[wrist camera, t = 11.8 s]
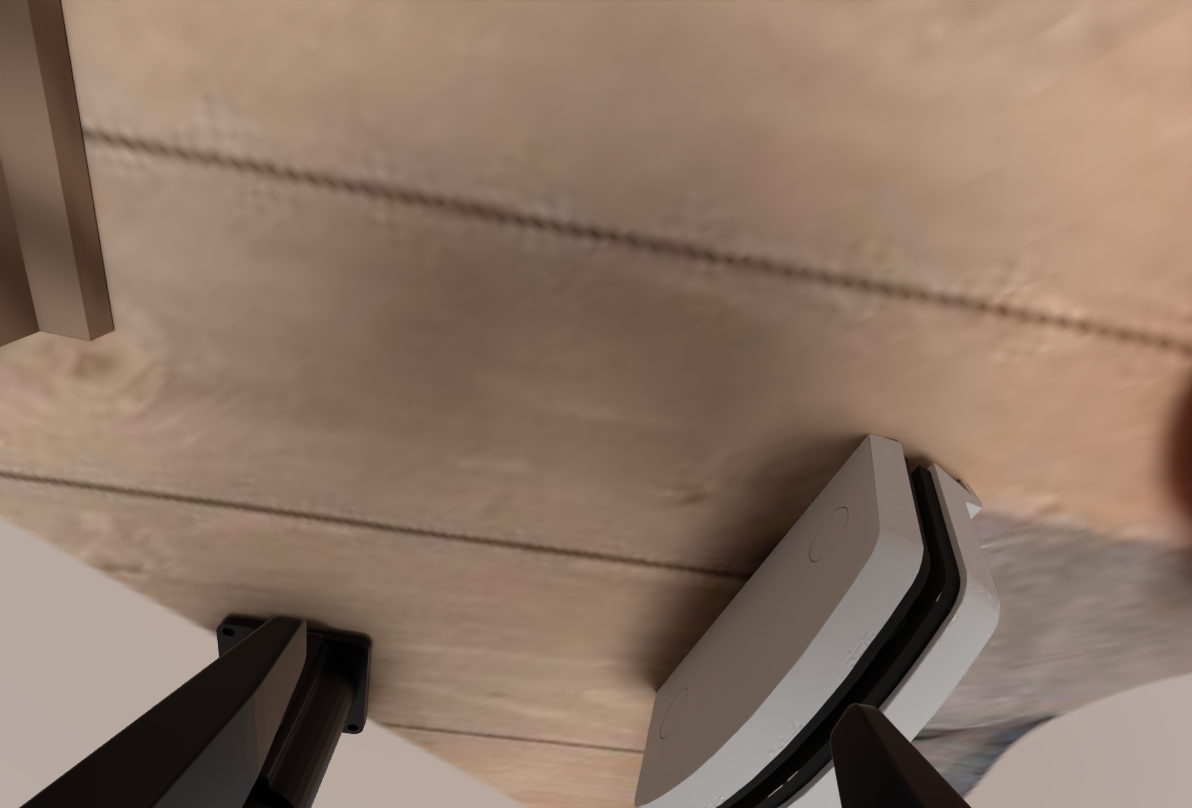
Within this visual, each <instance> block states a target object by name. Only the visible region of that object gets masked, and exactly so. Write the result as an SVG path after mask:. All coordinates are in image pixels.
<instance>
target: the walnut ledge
mask: <svg viewBox="0 0 1192 808" xmlns="http://www.w3.org/2000/svg"><path fill="white" fill-rule="evenodd" d="M39 331H41V332H46V333H52V334H57V335H62V336H67V337H72V338H77V339H82V340H87V341H92V340H94V339H96V338H98V337H100V336H103V335H105V334H107V333H109V332H111V331H114V330H113V323H112V317H111V311H110V305H109V299H108V293H107V287H106V281H105V274H104V268H103V262H102V256H101V250H100V244H99V238H98V232H97V225H96V219H95V213H94V207H93V201H92V195H91V189H90V183H89V176H88V170H87V164H86V158H85V152H84V146H83V140H82V133H81V127H80V121H79V115H78V109H77V103H76V97H75V91H74V84H73V78H72V72H71V66H70V60H69V54H68V48H67V42H66V35H65V29H64V23H63V17H62V11H61V5H60V0H0V347H1V346H3V345H6V344H8V343H11V342H13V341H16V340H19V339H21V338H24V337H26V336H29V335H31V334H34V333H36V332H39Z"/></svg>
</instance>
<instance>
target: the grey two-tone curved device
mask: <svg viewBox="0 0 1192 808" xmlns="http://www.w3.org/2000/svg"><path fill="white" fill-rule="evenodd" d="M982 508H983V506H982V503H981V502H980V500H979V499H978V497H977V496H976V494H975V493H974V492H973V490H972V489H971V487H970V486H969V485H968V484H966V483H965V482H964V481H963V480H960V481H959V482H958V483H957V482H956V481H955V480H954V479H953V478H951V477H950V476H949V475H948V474H947V473H946V472H945V471H943V470H942V469H941V468H940V467H939V466H938V465H936V464H935V463H933V464H932V465H931V466H930V467H929V468H928V469H927V470H926V469H925V468H923V467H921V466H920V465H919V466H918V467H917V468H916V469H915V470H914V472H913V473H912V474H911V471H910V467H909V462H908V458H906V457H904V454H903V449H902V445H901V443H899V442H896V441H894V440H891V439H888V438H885V437H882V436H878V435H873V434H868V435H867V437H866V438H865V439H864V440H863V442H862V443H861V444H860V445H859V446H858V448H857V449H856V450H855V451H854V453H853V454H852V455H851V456H850V457H849V459H848V460H847V461H846V462H845V463H844V465H843V466H842V467H841V468H840V470H839V471H838V472H837V473H836V474H835V476H834V477H833V478H832V479H831V481H830V482H829V483H828V484H827V485H826V487H825V488H824V489H823V490H822V491H821V493H820V494H819V495H818V496H817V498H816V499H815V500H814V501H813V502H812V504H811V505H810V506H809V507H808V508H807V510H806V511H805V512H804V513H803V515H802V516H801V517H800V518H799V519H798V521H797V522H796V523H795V524H794V526H793V527H792V528H791V529H790V530H789V532H788V533H787V534H786V535H785V536H784V538H783V539H782V540H781V541H780V543H779V544H778V545H777V546H776V547H775V549H774V550H773V551H772V552H771V554H770V555H769V556H768V557H767V558H766V560H765V561H764V562H763V563H762V564H761V566H760V567H759V568H758V569H757V571H756V572H755V573H754V574H753V575H752V577H751V578H750V579H749V580H748V582H747V583H746V584H745V585H744V586H743V588H742V589H741V590H740V591H739V592H738V594H737V595H736V596H735V597H734V599H733V600H732V601H731V602H730V603H729V605H728V606H727V607H726V608H725V609H724V611H723V612H722V613H721V614H720V616H719V617H718V618H717V619H716V620H715V622H714V623H713V624H712V625H711V627H710V628H709V629H708V630H707V631H706V633H705V634H704V635H703V636H702V637H701V639H700V640H699V641H698V642H697V644H696V645H695V646H694V647H693V648H692V650H691V651H690V652H689V653H688V655H687V656H686V657H685V658H684V659H683V661H682V662H681V663H680V664H679V665H678V667H677V668H676V669H675V670H674V672H673V673H672V674H671V675H670V676H669V678H668V679H667V680H666V681H665V683H664V684H663V685H662V686H661V687H660V689H659V690H658V691H657V692H656V697H655V702H654V707H653V712H652V717H651V722H650V726H649V731H648V736H647V741H646V746H645V751H644V756H643V761H642V766H641V771H640V776H639V781H638V786H637V790H636V795H635V806H636V807H637V808H841V802H840V797H839V791H838V786H837V780H836V775H835V770H834V764H833V759H832V753H831V747H830V737H831V733H832V730H833V729H834V727H835V726H836V724H837V723H838V721H839V720H840V718H841V717H842V715H843V714H844V712H845V711H846V709H847V708H848V706H849V705H851V704H853V703H857V704H863V705H870V706H874V707H876V708H878V709H879V710H880V711H881V712H882V713H883V714H884V715H885V716H886V717H887V718H888V719H889V720H890V721H891V722H892V723H893V725H894V726H895V727H896V728H897V729H898V730H899V731H900V732H901V733H902V734H903V735H904V736H905V737H906V738H907V740H908V741H909V742H911V741H912V739H913V738H914V737H915V736H916V735H917V734H918V733H919V731H920V730H921V729H922V728H923V727H924V726H925V725H926V723H927V722H928V721H929V720H930V719H931V718H932V716H933V715H934V714H935V713H936V712H937V710H938V709H939V708H940V706H941V705H942V704H943V702H944V701H945V700H946V698H947V697H948V696H949V694H950V693H951V692H952V691H953V689H954V688H955V687H956V685H957V684H958V683H959V681H960V680H961V679H962V677H963V676H964V675H965V673H966V672H967V670H968V669H969V667H970V666H971V665H972V663H973V662H974V660H975V659H976V657H977V656H978V654H979V653H980V651H981V650H982V649H983V647H984V646H985V644H986V643H987V641H988V640H989V638H990V637H991V636H992V634H993V632H994V630H995V628H996V626H997V624H998V619H999V614H1000V600H999V597H998V594H997V592H996V589H995V586H994V583H993V580H992V577H991V574H990V572H989V569H988V566H987V563H986V560H985V557H984V554H983V552H982V549H981V546H980V543H979V540H978V537H977V534H976V531H975V529H974V526H973V523H972V520H971V519H972V518H973V517H974V516H975V515H976V514H977V513H978V512H979V511H980V510H981V509H982Z"/></svg>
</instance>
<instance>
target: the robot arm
mask: <svg viewBox="0 0 1192 808" xmlns="http://www.w3.org/2000/svg"><path fill="white" fill-rule="evenodd" d="M217 640H218V650H219V658H218V659H217V660H215V661H214V662H213V663H211V664H210V665H209V666H207V667H206V668H205V669H203V670H202V671H201V672H199V673H198V674H197V675H195V676H194V677H193V678H191V679H190V680H189V681H187V682H186V683H185V684H183V685H182V686H181V687H179V688H178V689H177V690H175V691H174V692H173V693H171V694H170V695H169V696H167V697H166V698H165V699H163V700H162V701H161V702H159V703H158V704H157V705H155V706H154V707H153V708H152V709H150V710H149V711H147V712H146V713H145V714H144V715H142V716H141V717H139V718H138V719H137V720H135V721H134V722H133V723H131V724H130V725H129V726H127V727H126V728H125V729H123V730H122V731H121V732H119V733H118V734H117V735H115V736H114V737H113V738H111V739H110V740H109V741H108V742H106V743H105V744H103V745H102V746H101V747H100V748H98V749H97V750H95V751H94V752H93V753H91V754H90V755H89V756H87V757H86V758H85V759H83V760H82V761H81V762H80V763H78V764H77V765H75V766H74V767H73V768H71V769H70V770H69V771H67V772H66V773H65V774H64V775H62V776H61V777H59V778H58V779H57V780H56V781H54V782H53V783H51V784H50V785H49V786H48V787H46V788H45V789H43V790H42V791H41V792H40V793H38V794H37V795H36V796H34V797H33V798H32V799H30V800H29V801H28V802H26V803H25V804H24V805H22V806H21V807H20V808H311V807H312V804H313V802H314V799H315V797H316V794H317V792H318V789H319V787H320V784H321V782H322V779H323V777H324V775H325V772H326V770H327V767H328V764H329V762H330V760H331V758H332V755H333V753H334V750H335V747H336V745H337V743H338V740H339V738H340V735H341V733H342V732H343V733H351V734H358V733H360V732H362V730H363V728H364V725H365V723H366V715H367V701H368V688H369V674H370V661H371V647H372V645H371V642H370V641H369V640H368V639H366V638H364V637H360V636H354V635H347V634H341V633H334V632H328V631H321V630H315V629H308V628H306V621H305V619H304V618H301V617H296V616H289V615H277V616H274V617H273V618H271V619H270V620H268V621H267V622H262V621H256V620H249V619H243V618H236V617H227V618H224V619H223V620H222V622H221V623H220V624H219V626H218V627H217ZM830 747H831V753H832V759H833V764H834V770H835V775H836V780H837V786H838V791H839V797H840V802H841V808H971V807H970V806H969V805H968V804H967V803H966V802H965V800H964V799H963V798H962V797H961V796H960V795H959V794H958V793H957V792H956V791H955V790H954V789H953V788H952V787H951V785H950V784H949V783H948V782H947V781H946V780H945V779H944V778H943V777H942V776H941V775H940V774H939V773H938V772H937V771H936V769H935V768H934V767H933V766H932V765H931V764H930V763H929V762H928V761H927V760H926V759H925V758H924V757H923V756H922V754H921V753H920V752H919V751H918V750H917V749H916V748H915V747H914V746H913V745H912V744H911V743H910V742H909V741H908V740H907V738H906V737H905V736H904V735H903V734H902V733H901V732H900V731H899V730H898V729H897V728H896V727H895V726H894V725H893V723H892V722H891V721H890V720H889V719H888V718H887V717H886V716H885V715H884V714H883V713H882V712H881V711H880V710H879V709H878V708H876V707H874V706H870V705H863V704H857V703H853V704H851V705H849V706H848V708H847V709H846V711H845V712H844V714H843V715H842V717H841V718H840V720H839V721H838V723H837V724H836V726H835V727H834V729H833V730H832V733H831V737H830Z"/></svg>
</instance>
